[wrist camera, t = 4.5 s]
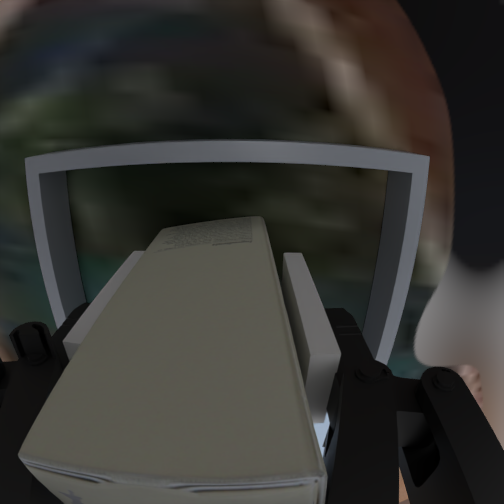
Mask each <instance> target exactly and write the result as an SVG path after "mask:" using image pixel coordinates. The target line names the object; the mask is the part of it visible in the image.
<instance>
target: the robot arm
mask: <svg viewBox="0 0 504 504" xmlns="http://www.w3.org/2000/svg"><path fill="white" fill-rule="evenodd" d="M144 252H145V251H133V252H132V254H131V255H130V256H129V257H128V258H127V260H126V261H125V262H124V263H123V264H122V266H121V267H120V268H119V269H118V270H117V272H116V273H115V274H114V275H113V276H112V278H111V279H110V280H109V281H108V283H107V284H106V285H105V286H104V288H103V289H102V290H101V291H100V293H99V294H98V295H97V296H96V298H95V299H94V300H93V301H92V303H83V304H81V305H80V306H78V307H77V308H75V309H74V310H73V311H72V312H71V313H70V315H69V316H68V317H67V319H66V320H65V321H64V322H63V323H62V326H60V327H59V328H58V330H57V331H56V332H55V333H54V335H53V336H52V337H51V335H50V332H49V329H48V327H47V326H46V324H44V323H42V322H28V323H25V324H22V325H20V326H18V327H17V328H15V329H14V330H13V331H12V332H11V333H10V335H9V336H10V339H11V341H12V344H13V346H14V348H15V351H16V353H17V355H18V358H19V359H18V361H11V362H2V360H1V358H0V504H64V503H63V502H62V501H61V500H60V499H59V498H58V497H56V496H55V495H54V494H53V493H52V492H50V491H49V490H48V489H47V488H46V487H45V486H44V485H43V484H42V483H41V482H40V481H39V480H38V479H37V478H36V477H35V476H34V475H33V474H32V473H31V472H30V471H29V470H28V468H27V467H26V466H25V465H24V463H23V462H22V461H21V460H20V458H19V456H18V453H19V451H20V449H21V446H22V444H23V442H24V440H25V438H26V436H27V434H28V433H29V431H30V429H31V427H32V425H33V423H34V422H35V420H36V418H37V416H38V415H39V413H40V411H41V409H42V407H43V406H44V404H45V402H46V400H47V398H48V397H49V395H50V393H51V392H52V390H53V388H54V387H55V385H56V383H57V382H58V380H59V378H60V377H61V375H62V373H63V372H64V370H65V368H66V367H67V365H68V364H69V362H70V360H71V359H72V357H73V355H74V354H75V352H76V351H77V349H78V347H79V346H80V344H81V343H82V341H83V340H84V338H85V337H86V335H87V334H88V332H89V331H90V329H91V327H92V326H93V324H94V323H95V321H96V320H97V318H98V317H99V315H100V314H101V312H102V311H103V310H104V308H105V307H106V305H107V303H108V302H109V301H110V299H111V298H112V296H113V295H114V294H115V292H116V291H117V289H118V288H119V286H120V285H121V284H122V282H123V281H124V279H125V278H126V276H127V275H128V274H129V273H130V271H131V270H132V268H133V267H134V266H135V264H136V263H137V262H138V260H139V259H140V257H141V256H142V255H143V253H144ZM281 290H282V295H283V299H284V304H285V307H286V311H287V314H288V318H289V323H290V327H291V331H292V335H293V340H294V344H295V348H296V352H297V357H298V361H299V365H300V370H301V374H302V378H303V383H304V387H305V391H306V395H307V399H308V404H309V408H310V412H311V416H312V420H313V423H324V420H325V417H326V413H327V414H328V418H329V422H330V424H329V427H328V431H327V434H326V437H325V440H324V443H323V446H322V447H325V448H324V454H323V461H324V464H325V468H326V472H327V476H328V478H327V488H326V497H325V504H399V467H400V470H401V473H402V477H403V480H404V484H405V487H406V491H407V494H408V498H409V501H410V504H504V450H503V448H502V446H501V445H500V442H499V441H498V439H497V437H496V435H495V433H494V431H493V430H492V428H491V426H490V424H489V423H488V421H487V419H486V417H485V415H484V414H483V412H482V410H481V409H480V407H479V405H478V404H477V402H476V400H475V399H474V397H473V395H472V394H471V392H470V390H469V389H468V387H467V385H466V384H465V382H464V381H463V379H462V378H461V377H460V376H459V375H458V373H456V372H454V371H453V370H451V369H448V368H445V367H432V368H429V369H427V370H426V371H425V372H424V373H423V374H422V377H421V379H420V380H418V379H409V378H401V377H396V376H393V374H392V372H391V370H390V369H389V368H388V367H387V366H386V365H385V364H383V363H381V362H379V361H377V360H374V358H373V356H372V354H371V352H370V350H369V348H368V346H367V344H366V342H365V340H364V338H363V335H362V334H361V331H360V329H359V327H357V323H356V322H355V320H354V318H353V316H352V315H351V314H350V313H348V312H347V311H346V310H345V309H343V308H329V309H324V307H323V305H322V302H321V300H320V297H319V295H318V292H317V290H316V287H315V285H314V282H313V280H312V277H311V275H310V272H309V270H308V267H307V265H306V262H305V260H304V257H303V255H302V253H284V254H283V271H282V287H281Z"/></svg>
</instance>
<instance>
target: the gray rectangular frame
mask: <svg viewBox="0 0 504 504" xmlns="http://www.w3.org/2000/svg"><path fill="white" fill-rule="evenodd" d="M429 159H430V157H429V156H425V155H420V154H416V153H411V152H406V151H400V150H392V149H385V148H376V147H368V146H358V145H348V144H337V143H324V142H309V141H291V140H264V139H196V140H170V141H152V142H137V143H125V144H114V145H104V146H94V147H86V148H78V149H70V150H63V151H56V152H50V153H45V154H41V155H36V156H32V157H27V158H25V168H26V180H27V189H28V198H29V205H30V212H31V219H32V225H33V231H34V237H35V242H36V247H37V252H38V257H39V262H40V266H41V271H42V275H43V279H44V283H45V287H46V291H47V294H48V298H49V302H50V305H51V309H52V312H53V316H54V319H55V322H56V325H57V328H59V327H60V326H62V323H63V322H64V321H65V320H66V319H67V317H68V316H69V315H70V313H71V312H72V311H73V310H74V309H75V308H77V307H78V306H80V305H81V304H83V303H86V298H85V294H84V289H83V285H82V280H81V275H80V270H79V265H78V260H77V254H76V249H75V243H74V236H73V230H72V223H71V215H70V207H69V198H68V189H67V177H66V170H74V169H84V168H95V167H107V166H120V165H136V164H155V163H183V162H270V163H297V164H317V165H333V166H347V167H359V168H370V169H381V170H388V180H387V190H386V199H385V208H384V216H383V223H382V231H381V237H380V244H379V250H378V257H377V263H376V268H375V274H374V279H373V285H372V290H371V295H370V300H369V305H368V310H367V314H366V319H365V323H364V328H363V332H362V335H363V338H364V340H365V342H366V344H367V346H368V348H369V350H370V352H371V354H372V356H373V358H374V360H377V361H379V362H381V363H383V364H385V365H387V362H388V359H389V356H390V353H391V350H392V347H393V344H394V340H395V337H396V333H397V330H398V327H399V323H400V319H401V316H402V312H403V308H404V304H405V300H406V296H407V292H408V288H409V284H410V280H411V275H412V271H413V266H414V261H415V256H416V251H417V246H418V241H419V235H420V229H421V223H422V217H423V210H424V203H425V196H426V188H427V179H428V170H429Z"/></svg>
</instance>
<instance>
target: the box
mask: <svg viewBox="0 0 504 504" xmlns="http://www.w3.org/2000/svg"><path fill="white" fill-rule="evenodd" d="M18 456H19V458H20V460H21V461H22V462H23V463H24V465H25V466H26V467H27V468H28V470H29V471H30V472H31V473H32V474H33V475H34V476H35V477H36V478H37V479H38V480H39V481H40V482H41V483H42V484H43V485H44V486H45V487H46V488H47V489H48V490H49V491H50V492H52V493H53V494H54V495H55V496H56V497H58V498H59V499H60V500H61V501H62V502H63V503H64V504H325V497H326V488H327V478H328V476H327V472H326V468H325V464H324V461H323V457H322V454H321V450H320V447H319V443H318V439H317V436H316V432H315V428H314V425H313V420H312V416H311V412H310V408H309V404H308V399H307V395H306V391H305V387H304V383H303V378H302V374H301V370H300V365H299V361H298V357H297V352H296V348H295V344H294V340H293V335H292V331H291V327H290V323H289V318H288V314H287V311H286V307H285V304H284V299H283V295H282V290H281V286H280V282H279V278H278V274H277V270H276V266H275V261H274V257H273V253H272V249H271V245H270V241H269V236H268V233H267V229H266V225H265V221H264V219H263V217H261V216H250V217H240V218H231V219H222V220H214V221H207V222H200V223H193V224H187V225H181V226H175V227H169V228H164V229H162V230H161V231H160V232H159V234H158V235H157V236H156V237H155V239H154V240H153V241H152V243H151V244H150V245H149V247H148V248H147V249H146V251H145V252H144V253H143V255H142V256H141V257H140V259H139V260H138V262H137V263H136V264H135V266H134V267H133V268H132V270H131V271H130V273H129V274H128V275H127V276H126V278H125V279H124V281H123V282H122V284H121V285H120V286H119V288H118V289H117V291H116V292H115V294H114V295H113V296H112V298H111V299H110V301H109V302H108V303H107V305H106V307H105V308H104V310H103V311H102V312H101V314H100V315H99V317H98V318H97V320H96V321H95V323H94V324H93V326H92V327H91V329H90V331H89V332H88V334H87V335H86V337H85V338H84V340H83V341H82V343H81V344H80V346H79V347H78V349H77V351H76V352H75V354H74V355H73V357H72V359H71V360H70V362H69V364H68V365H67V367H66V368H65V370H64V372H63V373H62V375H61V377H60V378H59V380H58V382H57V383H56V385H55V387H54V388H53V390H52V392H51V393H50V395H49V397H48V398H47V400H46V402H45V404H44V406H43V407H42V409H41V411H40V413H39V415H38V416H37V418H36V420H35V422H34V423H33V425H32V427H31V429H30V431H29V433H28V434H27V436H26V438H25V440H24V442H23V444H22V446H21V449H20V451H19V453H18Z"/></svg>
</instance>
